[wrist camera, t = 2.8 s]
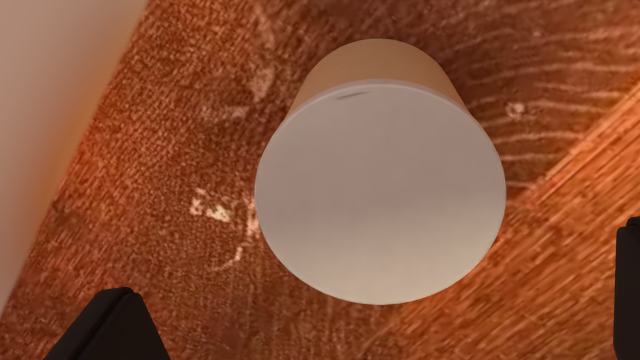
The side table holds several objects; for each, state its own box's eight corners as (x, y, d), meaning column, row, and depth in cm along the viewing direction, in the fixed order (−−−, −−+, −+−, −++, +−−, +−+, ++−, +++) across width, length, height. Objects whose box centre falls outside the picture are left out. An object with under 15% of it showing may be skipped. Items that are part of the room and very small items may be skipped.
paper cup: (451, 17, 17) (498, 58, 11) (468, 181, 20) (514, 291, 13) (273, 55, 18) (222, 112, 12) (313, 205, 21) (287, 316, 15)
